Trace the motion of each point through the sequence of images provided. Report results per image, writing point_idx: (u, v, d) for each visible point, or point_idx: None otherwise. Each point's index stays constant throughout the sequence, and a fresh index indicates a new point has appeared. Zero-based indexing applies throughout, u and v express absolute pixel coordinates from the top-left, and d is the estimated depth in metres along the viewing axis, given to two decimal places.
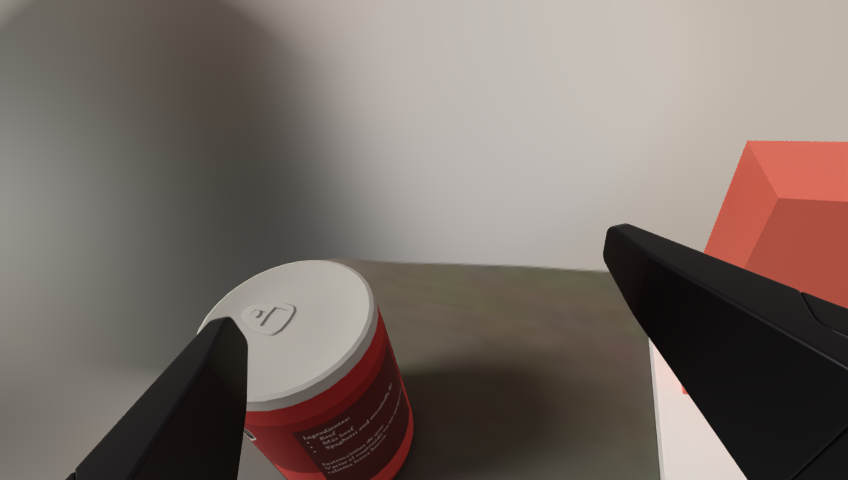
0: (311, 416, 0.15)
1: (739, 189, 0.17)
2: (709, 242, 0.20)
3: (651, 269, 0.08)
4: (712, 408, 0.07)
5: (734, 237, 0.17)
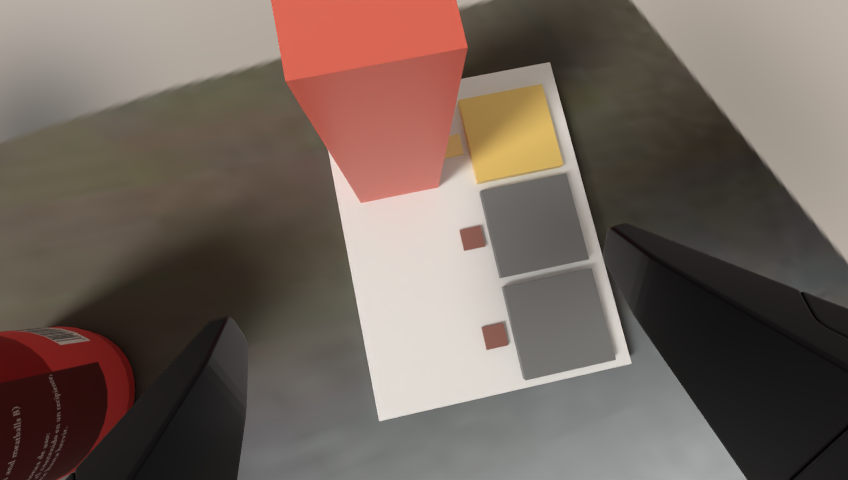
0: None
1: None
2: None
3: (651, 269, 0.08)
4: (712, 408, 0.07)
5: None
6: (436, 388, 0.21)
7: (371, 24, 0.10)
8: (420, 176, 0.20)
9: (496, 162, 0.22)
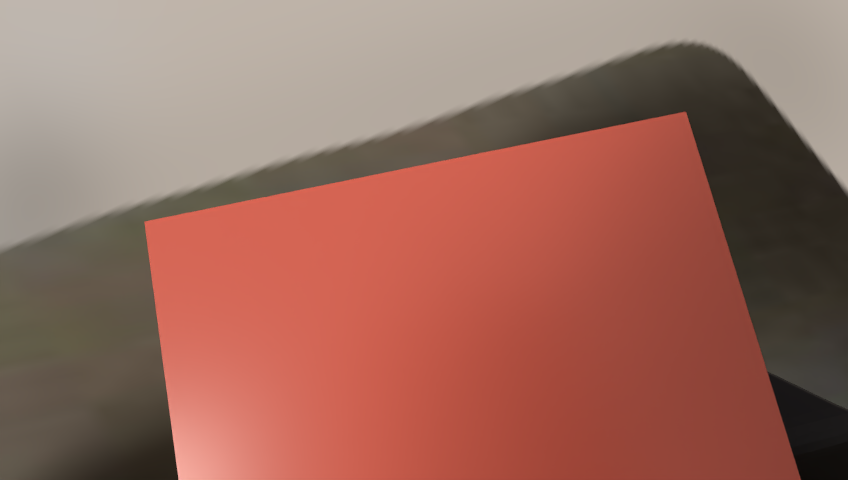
0: None
1: None
2: None
3: None
4: None
5: None
6: None
7: None
8: None
9: None
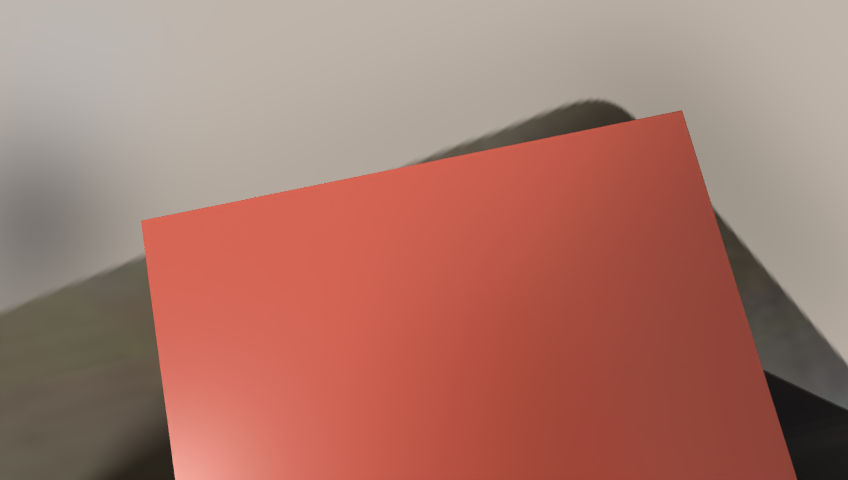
0: None
1: None
2: None
3: None
4: None
5: None
6: None
7: None
8: None
9: None
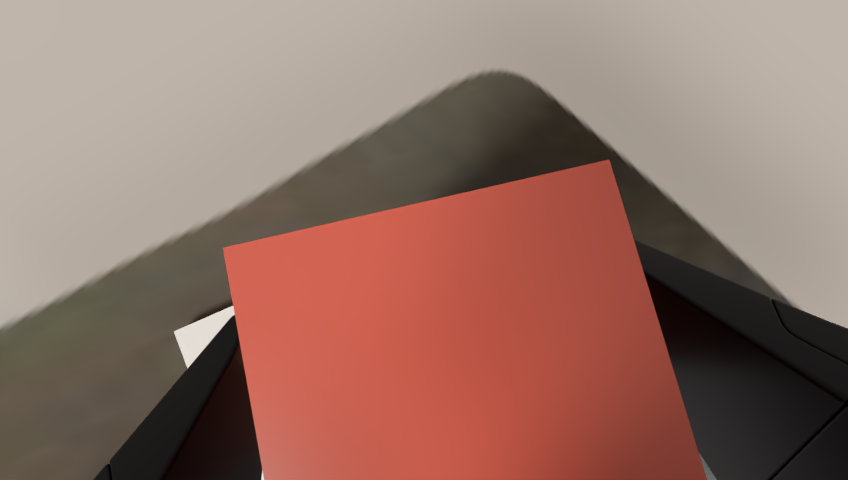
0: None
1: None
2: None
3: None
4: (687, 414, 0.07)
5: None
6: None
7: None
8: None
9: None
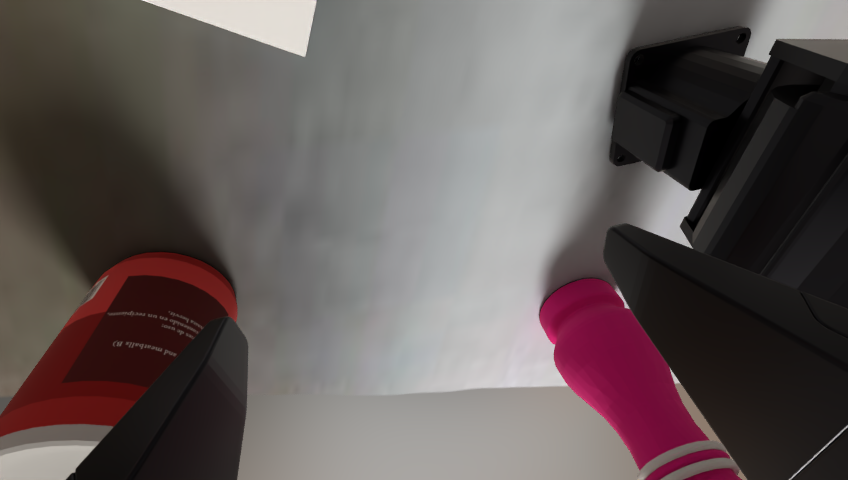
0: None
1: None
2: None
3: (651, 269, 0.08)
4: (712, 408, 0.07)
5: None
6: None
7: None
8: None
9: None
